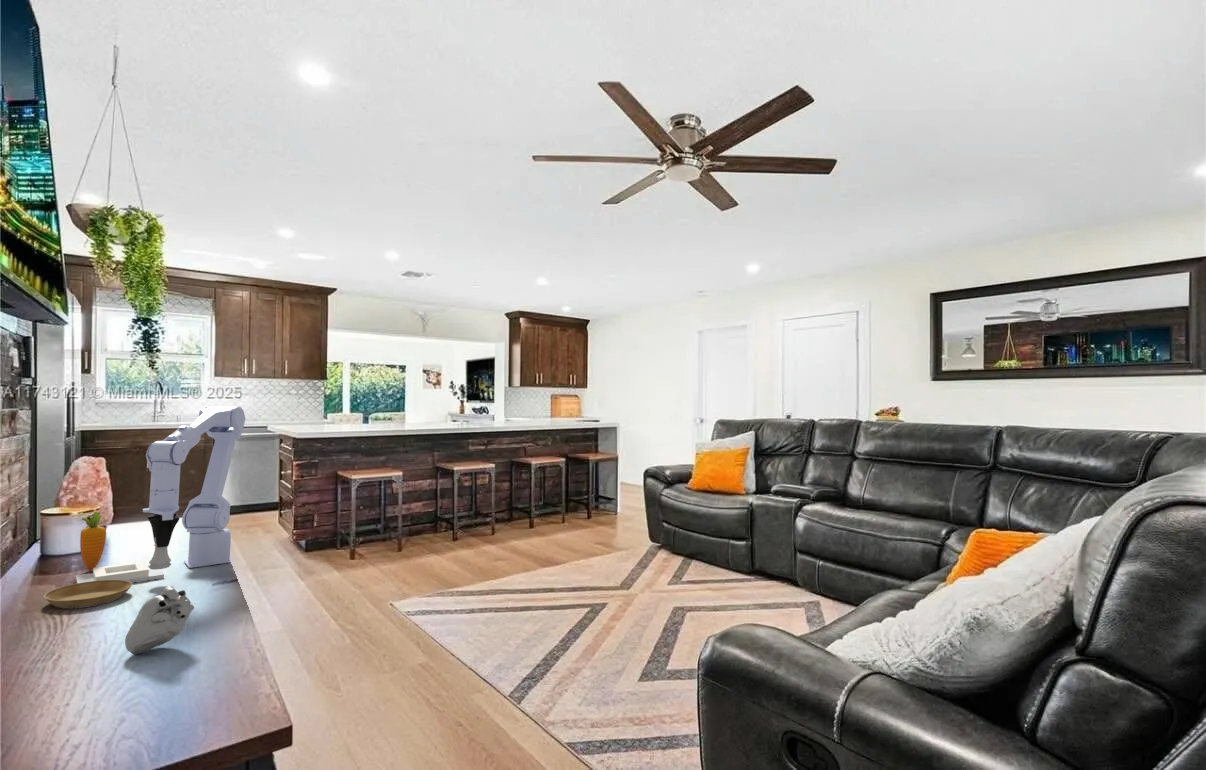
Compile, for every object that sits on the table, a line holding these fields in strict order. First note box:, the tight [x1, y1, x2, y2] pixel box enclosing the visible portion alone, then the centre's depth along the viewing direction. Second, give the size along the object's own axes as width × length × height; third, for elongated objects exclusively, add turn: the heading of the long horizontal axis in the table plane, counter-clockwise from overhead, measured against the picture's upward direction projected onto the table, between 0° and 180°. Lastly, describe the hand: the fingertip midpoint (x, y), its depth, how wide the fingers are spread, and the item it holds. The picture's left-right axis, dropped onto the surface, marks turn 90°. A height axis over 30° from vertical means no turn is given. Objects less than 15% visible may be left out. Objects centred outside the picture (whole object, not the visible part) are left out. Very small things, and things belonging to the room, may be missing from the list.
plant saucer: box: [43, 580, 133, 609], centre depth 127 cm, size 15×15×3 cm
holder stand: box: [75, 560, 165, 584], centre depth 142 cm, size 16×12×2 cm
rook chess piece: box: [147, 537, 172, 570], centre depth 140 cm, size 4×4×8 cm
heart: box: [124, 585, 195, 655], centre depth 103 cm, size 10×10×12 cm
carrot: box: [79, 511, 107, 572], centre depth 148 cm, size 5×5×15 cm
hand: (161, 545), depth 140 cm, fingers closed on rook chess piece, 3 cm apart
